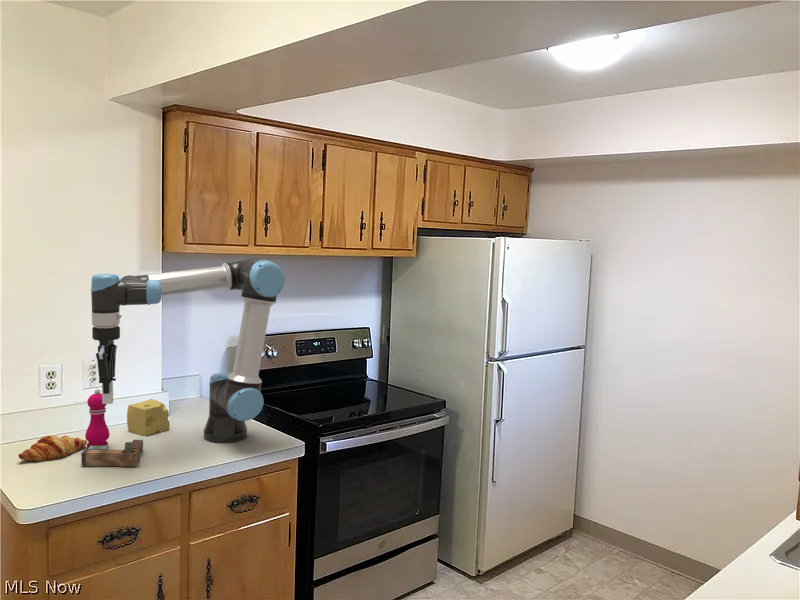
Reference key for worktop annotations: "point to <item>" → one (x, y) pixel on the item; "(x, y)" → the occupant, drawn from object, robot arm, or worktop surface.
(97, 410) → the pepper mill
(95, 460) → the leg
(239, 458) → the worktop surface
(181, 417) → the worktop surface
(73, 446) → the croissant
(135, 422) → the cheese
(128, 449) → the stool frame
